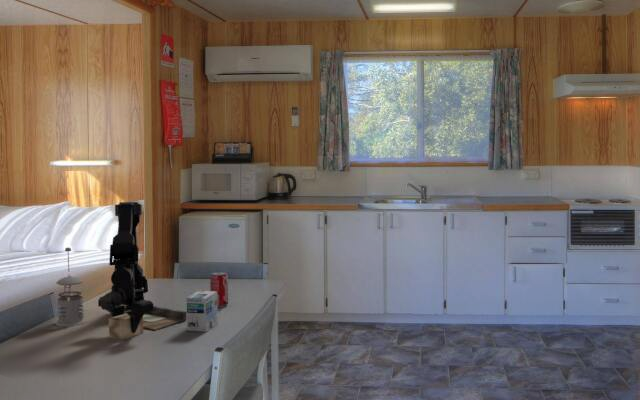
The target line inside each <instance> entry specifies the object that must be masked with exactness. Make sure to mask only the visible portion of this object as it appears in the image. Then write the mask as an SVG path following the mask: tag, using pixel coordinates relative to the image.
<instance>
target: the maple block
mask: <svg viewBox="0 0 640 400" xmlns="http://www.w3.org/2000/svg"><path fill="white" fill-rule="evenodd" d="M108 332H109V334H108V336H109V337H108V338H110V339H113V338H114V340H117V339H118V340H119V341H123V340H125V339H129V338H132V337H134V336H138V335H141V334H144V328H143V317H142V319H141V321H140V323H139V325H138V328H137V330H136V332H135V333H132V330H131V321H130V316H129V315H128V314H127V313H126V314H122V315H119V316H115V317H112V316H111V317H108ZM118 340H117V341H118Z"/></svg>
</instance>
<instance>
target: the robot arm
mask: <svg viewBox="0 0 640 400" xmlns="http://www.w3.org/2000/svg"><path fill="white" fill-rule="evenodd" d="M114 216H115V217H117V221H118V228H117V233H116V234H115V236H113V238H112V243H111V244H110V246H109V262H108V263H109V266H114V270H113V272H112V274H111V277H110V281H111V284H112V285H111V288H110V289H111V291H109V292H107V293H105V294H104V295H103V296H100V297H99V299H98V301H97V303H98V304H97V305H98V307H100V308H101V309H102V310H105V311H106V312H108V313H110V314H111V318H112V317H115V316H119V315H122V314H124V311H128V310H131V312H128V313H127V314H128V315H129V316H130V321H131V330H132V333H135V332H136V330H137V328H138V325H139V323H140V321H141V319H142V317H143V315H144V313H145V312H148V311H152V310H153V306H154V303H153V301H151V300H147V299H145V296H144V294H147V293H148V292H149V285H148V279H147V278H146V275H144V269H143V268H142V266H141V265H140V264H139V246H138V239H137V238H138V235H137V226H138V225H139V223H140V221H141V216H143V205H142V203H141V204H140V203H139V201H120V202H119V203H118V204H115V205H114Z"/></svg>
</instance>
